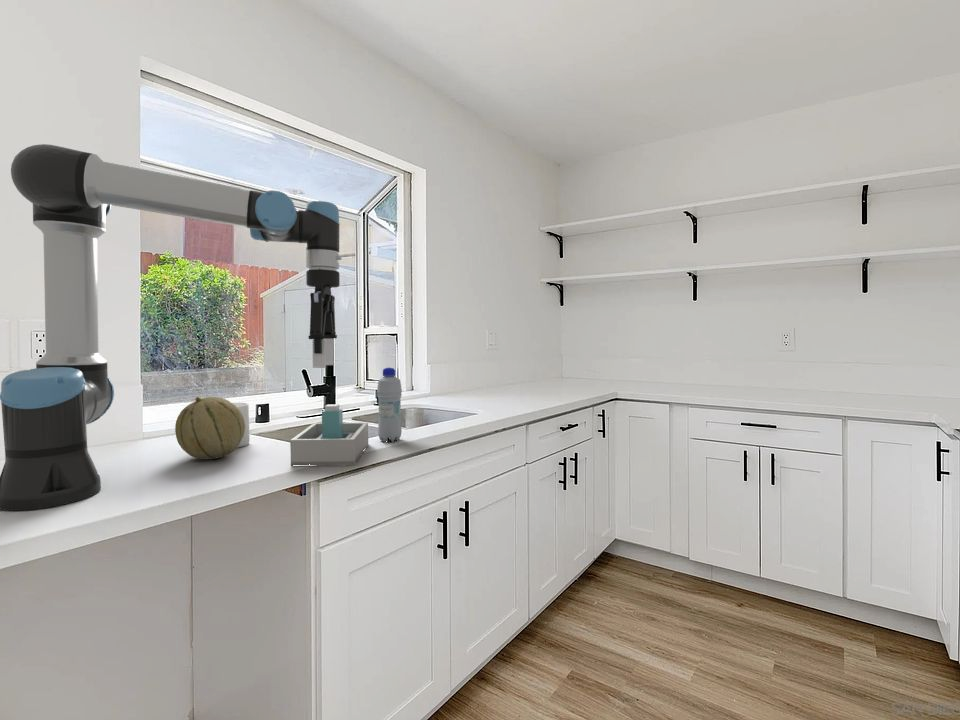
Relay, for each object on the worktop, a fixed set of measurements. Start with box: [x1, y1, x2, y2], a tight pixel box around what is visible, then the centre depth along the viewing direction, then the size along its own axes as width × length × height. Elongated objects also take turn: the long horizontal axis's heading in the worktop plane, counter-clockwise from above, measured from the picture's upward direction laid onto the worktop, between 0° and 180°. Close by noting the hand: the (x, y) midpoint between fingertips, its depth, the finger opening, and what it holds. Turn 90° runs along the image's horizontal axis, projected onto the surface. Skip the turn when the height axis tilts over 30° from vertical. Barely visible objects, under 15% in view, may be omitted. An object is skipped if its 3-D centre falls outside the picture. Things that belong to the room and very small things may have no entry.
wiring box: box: [289, 422, 369, 467], centre depth 127 cm, size 20×14×6 cm
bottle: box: [376, 367, 403, 442], centre depth 143 cm, size 7×7×20 cm
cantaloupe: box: [174, 396, 245, 460], centre depth 124 cm, size 15×15×15 cm
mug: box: [231, 402, 251, 449], centre depth 136 cm, size 9×12×11 cm
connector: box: [321, 403, 344, 439], centre depth 127 cm, size 4×4×11 cm
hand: (323, 366), depth 125 cm, fingers open, 8 cm apart
